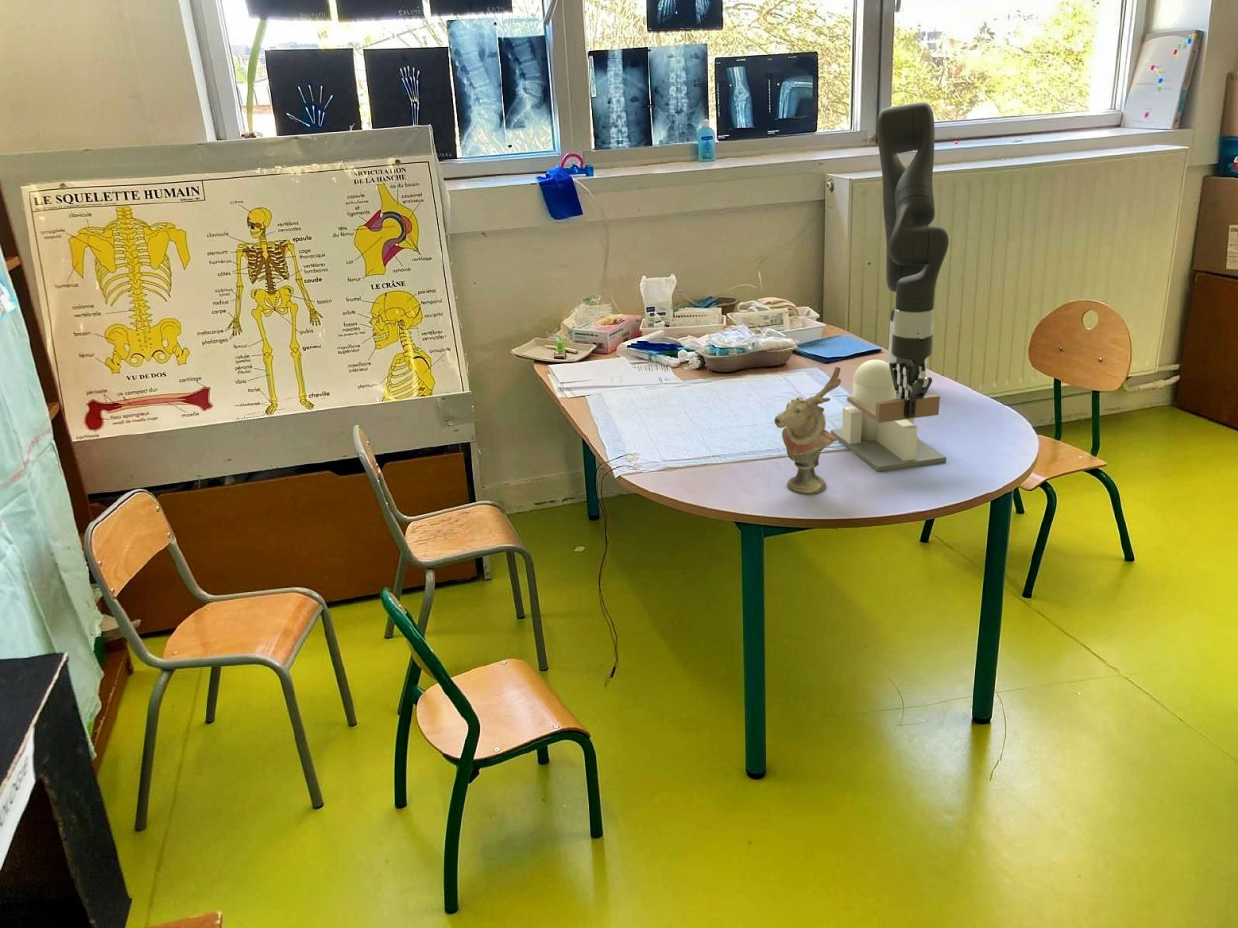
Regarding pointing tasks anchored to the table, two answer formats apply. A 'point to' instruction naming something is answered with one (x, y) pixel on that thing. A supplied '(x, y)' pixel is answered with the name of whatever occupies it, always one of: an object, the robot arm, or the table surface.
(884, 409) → the brown u-shaped frame
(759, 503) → the table surface
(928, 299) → the robot arm
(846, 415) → the bracket-mounted cylinder
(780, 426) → the decorative bust
